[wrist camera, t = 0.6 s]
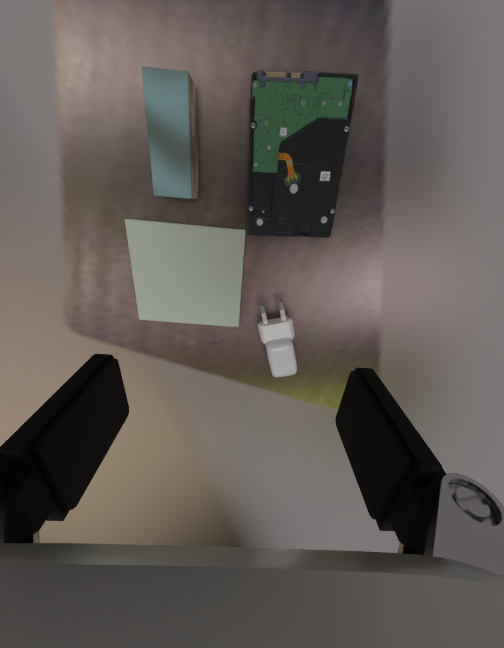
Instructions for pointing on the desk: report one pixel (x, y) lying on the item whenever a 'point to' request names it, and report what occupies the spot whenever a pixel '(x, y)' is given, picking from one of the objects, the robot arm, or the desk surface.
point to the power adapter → (278, 342)
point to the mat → (186, 272)
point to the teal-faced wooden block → (172, 132)
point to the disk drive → (297, 150)
